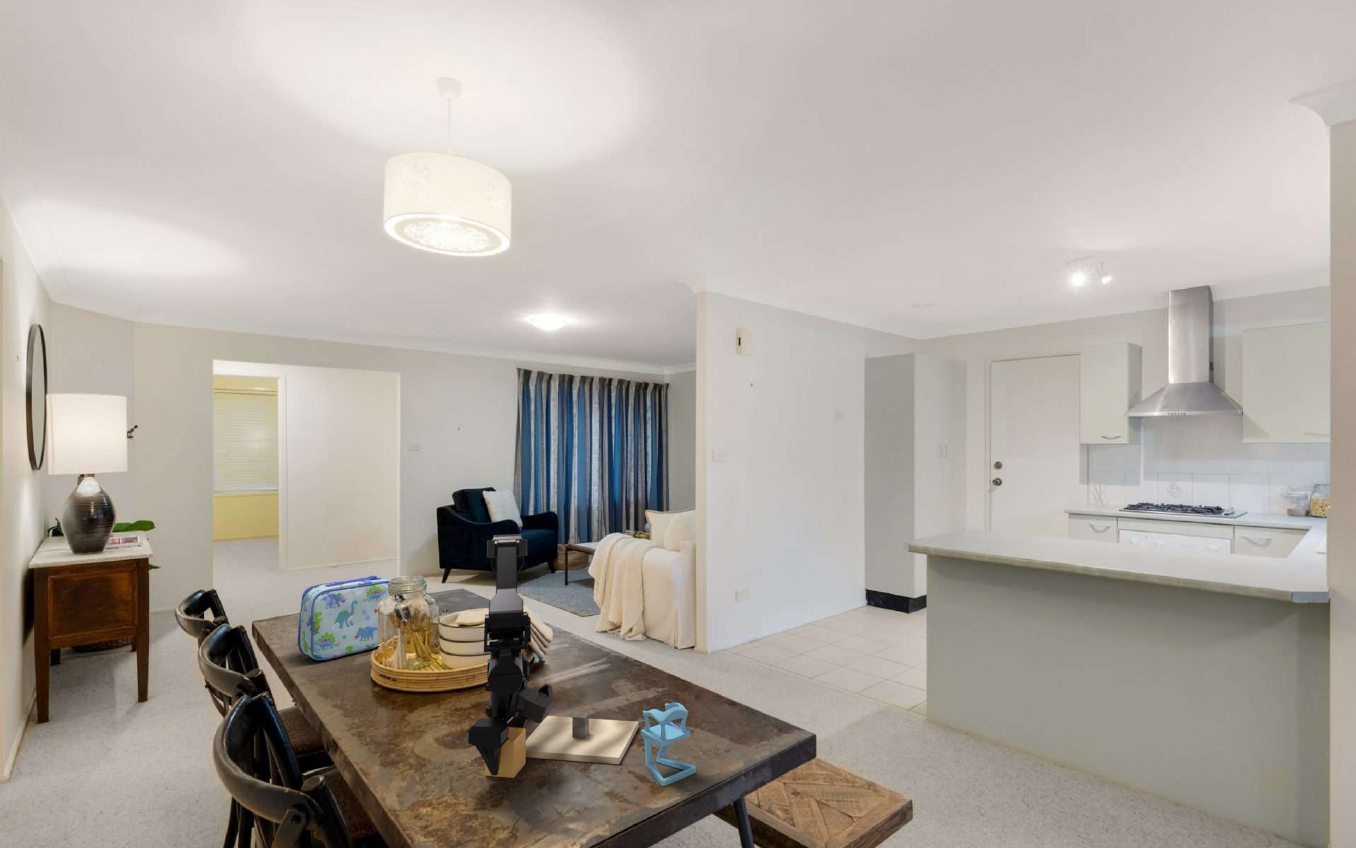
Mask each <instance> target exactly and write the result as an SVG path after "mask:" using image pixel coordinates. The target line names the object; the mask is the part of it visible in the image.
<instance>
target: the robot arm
mask: <svg viewBox="0 0 1356 848" xmlns="http://www.w3.org/2000/svg"><path fill="white" fill-rule="evenodd" d="M486 546H487V547H486V558H487V559H489V558H490V567H491V569H492V570H493V572H494V573H495V574H496V577H495V595H494V596H493V597H492V598H491V599H490V600H489V602H488V614H484V626H483V627H484V628H483V629H484V630H483V633H484V634H483V653H489V658H487V668H486V669H487V671H486V672H487V676H486V677H487V684H486V685H485V692H489V704H488V706H486V708H485V711H484V712H485V715H488V716H492V717H493V718H486V717H481V718H479V719H478V720H477V721H476V722H475V723H474V724H472V726H471V727H469V729H468V730H467V731H466V742H467V744H469V745H472V746H475V748H476V750H477V751H478V752H479V754H480V756H481V758H482V759H483V761H484V765H485V764H486V765H487V767H488V769H489V771H490V773H491V775H495V776H494V777H496V775H498V771H499V765H500V757H501V749H502V746H503V745H504V744H505V742H506V741H507V740H508V739H509V737H508V734H509V727H512V728H526V726H527V724H528V723H527V722H528V719H529V720H531V721H532V722H533V723H535V724H541V723H542V722H543V720H544V719H545V718H546V717H547V716H549V714H550V710H551V707H552V705H553V704H554V703H555V698H554V697H555V696H554V695H553V694H554V693H553V686H552V685H551V684H547V683H544V684H543V685H541V687H540V688H539V689H538V688H537V687H534V688H530V687H528V682H530V669H531V668H530V666H531V663H530V662H529V661H528V659H527V656H526V655H524V650H528V649H529V647H528V645H529V644H528V643H531V642H532V627H531V626H532V624H531V620H532V619H531V617H530V616H529V612H528V611H524V599H523V597H521V596H520V595H519V594H518V575H519V573H520V571H521V569H522V568H523V567H524V564H525V560H524V557H527V556H528V538H525V539H524V538H523V537H522V534H495V535H493V538H492V539H490V540H487V541H486ZM523 637H524V641H523V639H522V638H523ZM488 639H489V640H491V641H489V643H488Z"/></svg>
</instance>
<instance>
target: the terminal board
mask: <svg viewBox="0 0 1356 848" xmlns="http://www.w3.org/2000/svg"><path fill="white" fill-rule="evenodd" d="M638 730H639V721H633V720H632V721H631V720H617V719H603V718H602V719H601V718H590V713H589V712H585V711H576V712H575V713H574V714H573V716H572V717H570V716H555V715H548V716H547V717H546V718H545V719H544V720H543V722H542V723H539V724H538V726H537V727H536V728H535V729H534V730H533V732H532V733H530V735H529V736H528V737H527V738H526V758H531V759H533V758H534V759H546V760H558V761H559V760H560V761H573V762H586V763H595V764H596V763H598V764H611V765H612V764H613V765H620V764H621V762H622V760H623V758H624V755H625V754H626V752H627V750H628V748H629V747H630V744H631V742H632V741H633V738H634V737H635V735H636V733H637V731H638Z"/></svg>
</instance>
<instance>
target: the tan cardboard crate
mask: <svg viewBox="0 0 1356 848" xmlns="http://www.w3.org/2000/svg"><path fill="white" fill-rule="evenodd" d="M526 733H527V732H526V727H525V728H512V727H509V734H508V737H509V739H508V740H507V741H506V742H505V744H504V745H503V746H502V749H501V757H500V765H499V771H498V775H496V776H495V775H491V773H490V771H489V769H488V767H487V765H486V764H485V763H484V771H485V772H484V774H485V776H487V777H498V778H499V777H500V778H510V779H512V778H515V777H516V776H517V775H518V774H519V772H520V771H521V770H522V768H523V767H524V766H525V765H526V760H527V759H526V758H527V757H526V739H527V738H526V737H527V736H526V735H527V734H526Z"/></svg>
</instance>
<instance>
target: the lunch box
mask: <svg viewBox="0 0 1356 848" xmlns="http://www.w3.org/2000/svg"><path fill="white" fill-rule="evenodd" d="M390 581H392V580H390V579H386V578H383V577H378V576H377V575H370V576H367V577H362V578H357V579H350V580H344V581H333V582H328V583H319V584H315V585H311V586H309V587H307V588H306V589H305V590H304V591H303V593H302V595H301V603H300V611H299V612H300V613H299V620H298V628H297V629H298V631H297V646H298V649H299V652H300V654H302V655H304V656H309V657H310V658H312V659H313V660H317V661H327V660H332V659H335V658H340V657H342V656H347V655H348V656H349V655H350V654H351V655H352V654H355V653H360V652H363V651H368V650H372V649H375V648H376V647H377V645H378V602H380V601H381V600H383V599H385V598H387V597H388V595H389V593H388V584H389V582H390ZM377 648H378V647H377Z"/></svg>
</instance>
